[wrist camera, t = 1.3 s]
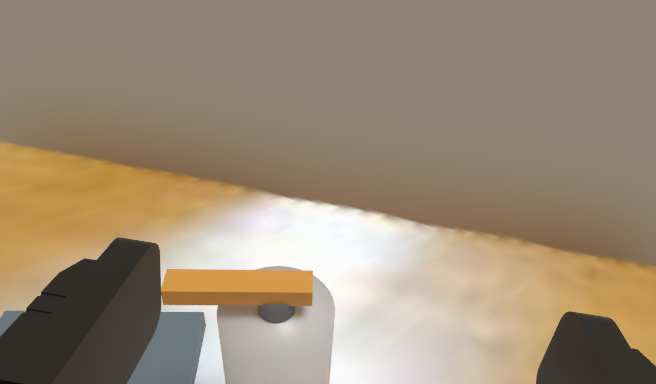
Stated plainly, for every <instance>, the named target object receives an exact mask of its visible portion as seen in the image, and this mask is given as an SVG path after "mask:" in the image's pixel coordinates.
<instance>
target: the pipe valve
mask: <svg viewBox="0 0 656 384" xmlns="http://www.w3.org/2000/svg"><path fill="white" fill-rule="evenodd" d="M161 296H162V301H163V305H218V309H217V321H218V329H219V336H220V343H221V351H222V358H223V366H224V373H225V381H226V384H329V379H330V366H331V354H332V341H333V329H334V316H335V307H334V301H333V298H332V296H331V294H330V292H329V290H328V289H327V287H326V286H325V285H324V284H323V283H322V282H321V281H320V280H319V279H318V278H316V277H315V276H313V271H302V270H300V269H296V268H291V267H282V266H275V267H265V268H261V269H257V270H192V269H167V271H166V275H165V278H164V281H163V285H162V288H161Z"/></svg>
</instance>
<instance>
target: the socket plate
mask: <svg viewBox="0 0 656 384" xmlns="http://www.w3.org/2000/svg"><path fill="white" fill-rule="evenodd" d="M23 312H24V313H25V312H26V311H5V312H4V313H3V315H2V317H1V318H0V336H1V335H2V334H3V333H4V332H5V331H6V330H7V329H8V328H9V327H10V325H11V324H12V323H13V322H14V321H15V320H16V319H17V318H18V317H19V316H20V315H21V314H22V313H23ZM205 326H206V324H205V318H204V312H160V317H159V321H158V325H157V328H156V331H155V333H154V335H153V337H152V339H151V341H150V343H149V344H148V346H147V348H146V350H145V352H144V354H143V355H142V357H141V359H140V361H139V363H138V364H137V366H136V368H135V370H134V372H133V374H132V375H131V377H130V379H129V381H128V383H127V384H194V382H195V377H196V372H197V367H198V362H199V357H200V352H201V346H202V341H203V336H204V331H205Z"/></svg>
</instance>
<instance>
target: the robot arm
mask: <svg viewBox="0 0 656 384" xmlns="http://www.w3.org/2000/svg"><path fill="white" fill-rule="evenodd" d="M160 311H161V277H160V250H159V247H158V245H157V244H156V243H150V242H144V241H138V240H132V239H125V238H116V239H115V240H114V241H113V242H112V243H111V244H110V245H109V246H108V248H107V249H106V250H105V251H104V252H103V253H102V255H101V256H100V257H99V258H98V259H97V260H91V259H83V260H81V261H79V262H78V263H76V264H74V265H72V266H70V267H69V268H67V269H65V270H63V271H62V272H60V273H59V274H58V275H57V276H56V277H55V278H54V279H53V280H52V281H51V282H50V283H49V284H48V285H47V287H46V288H45V289H44V290H43V291H42V292H41V296H37V297H36V298H35V300H34V301H33V302H32V303H31V304H30V305H29V306H28V307H27V309H26V312H25V313H24V312H23V313H22V314H21V315H20V316H19V317H18V318H17V319H16V320H15V321H14V322H13V323H12V324H11V325H10V327H9V328H8V329H7V330H6V331H5V332H4V333H3V334H2V335H1V336H0V384H127V383H128V381H129V379H130V377H131V375H132V374H133V372H134V370H135V368H136V366H137V364H138V363H139V361H140V359H141V357H142V355H143V354H144V352H145V350H146V348H147V346H148V344H149V343H150V341H151V339H152V337H153V335H154V333H155V331H156V328H157V325H158V321H159V317H160ZM536 384H656V366H655V365H653V364H652V363H651V362H650V361H649V360H648V359H647V358H646V357H645V356H644V355H643V354H642V353H641V352H640V351H639V350H637V349H631V348H630V346H629V345H628V343H627V341H626V340H625V338H624V336H623V335H622V333H621V331H620V330H619V328H618V326H617V325H616V323H615V322H614V321H613V320H612V319H610V318H607V317H601V316H595V315H589V314H583V313H576V312H567V313H565V314H564V315H563V317H562V318H561V320H560V322H559V324H558V326H557V329H556V331H555V333H554V335H553V337H552V340H551V342H550V344H549V346H548V349H547V351H546V353H545V355H544V357H543V360H542V362H541V364H540V366H539V369H538V373H537V380H536Z"/></svg>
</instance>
